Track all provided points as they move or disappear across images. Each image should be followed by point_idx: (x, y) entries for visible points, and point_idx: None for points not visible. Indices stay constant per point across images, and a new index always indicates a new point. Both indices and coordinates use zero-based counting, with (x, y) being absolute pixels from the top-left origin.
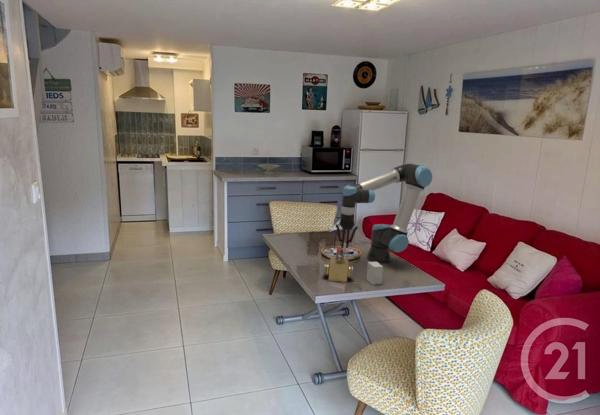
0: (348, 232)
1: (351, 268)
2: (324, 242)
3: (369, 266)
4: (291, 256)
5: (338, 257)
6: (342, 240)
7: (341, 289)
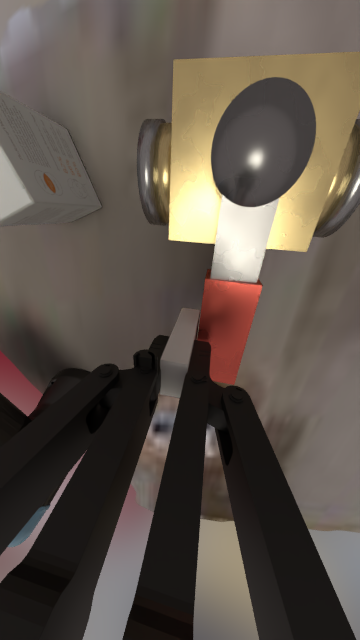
0: (59, 538)
1: (152, 132)
2: (224, 481)
3: (32, 170)
4: None
5: (284, 91)
6: (202, 391)
7: None
